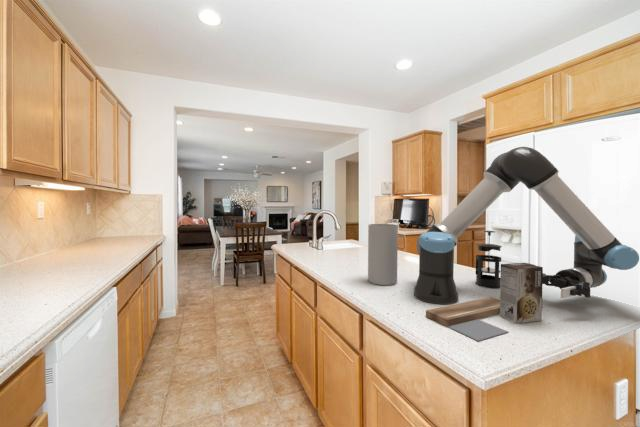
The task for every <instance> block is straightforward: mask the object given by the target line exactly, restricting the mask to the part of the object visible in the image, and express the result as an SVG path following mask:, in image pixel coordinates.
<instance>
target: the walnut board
mask: <svg viewBox="0 0 640 427" xmlns="http://www.w3.org/2000/svg"><path fill="white" fill-rule="evenodd" d="M496 315H500V298H495V297H492V296H488V297H484V298H483V297H482V298H479V299H474V300H470V301H469V300H468V301H463V302H460V303H453V304H448V305H444V306H440V307H435V308H431V309H430V308H429V309H426V310H425V318H428V319H429V320H432V321H434V322H435V323H438V324H439V325H440V324H441V326H444V327H447V328H448V326H452V325H456V324H460V323H464V322H468V321H472V320H476V319H478V320H481V319H486V318H488V317H489V318H490V317H493V316H496Z"/></svg>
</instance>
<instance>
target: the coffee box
mask: <svg viewBox="0 0 640 427" xmlns="http://www.w3.org/2000/svg"><path fill="white" fill-rule="evenodd" d="M543 269H544V268H543V267H542V266H540V265H537V264H532V263H528V262H516V263H515V262H514V263H511V262H510V263H500V278H501V281H500V288H499V289H500V290H499V292H500V293H499V300H500V314H499V316H500V317H503V318H504V319H506V320H509V321H511V322H513V323H515V324H523V323H530V322H540V321H542V320H543V284H542V279H543V273H544V270H543Z"/></svg>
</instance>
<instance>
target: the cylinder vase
mask: <svg viewBox="0 0 640 427" xmlns="http://www.w3.org/2000/svg"><path fill="white" fill-rule="evenodd" d="M398 227H399V225H398V224H393V223H370V224H369V223H368V228H367V229H368V235H367V236H368V238H367V240H368V241H367V243H368V244H367V254H368V256H367V281H368V282H369V283H370V284H374V285H376V286H377V285H378V286H391V285H395V284H396V283H398V247H399V246H398V245H399V244H398V243H399V242H398V241H399V240H398V238H399V236H398V235H399V228H398Z"/></svg>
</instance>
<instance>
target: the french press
mask: <svg viewBox="0 0 640 427" xmlns="http://www.w3.org/2000/svg"><path fill="white" fill-rule="evenodd" d="M483 233H487V236H488V243H477V244H476V246H477V250H478V251H482V252H487V253H488V254H476V256H475V275H476V277H475V279H476V281H475V285H476V286H479V287H483V288H487V289H500V281H501V277H500V274H501V270H500V262H502V257H501V256H496V255H492V254H491V255H490V252H491V251H492V250H493V251H494V250H495V251H499V252H500V251H501V248H503V246H502V245H501V244H500V245H499V244H493V243H491V241H490V240H491V239H490V238H491V237H490V236H491V235H492V233H495V230H494V231H493V230H484V231H483ZM484 262H487V267H484ZM490 263H494V268H491V267H490ZM490 274H492V275H490Z"/></svg>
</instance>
